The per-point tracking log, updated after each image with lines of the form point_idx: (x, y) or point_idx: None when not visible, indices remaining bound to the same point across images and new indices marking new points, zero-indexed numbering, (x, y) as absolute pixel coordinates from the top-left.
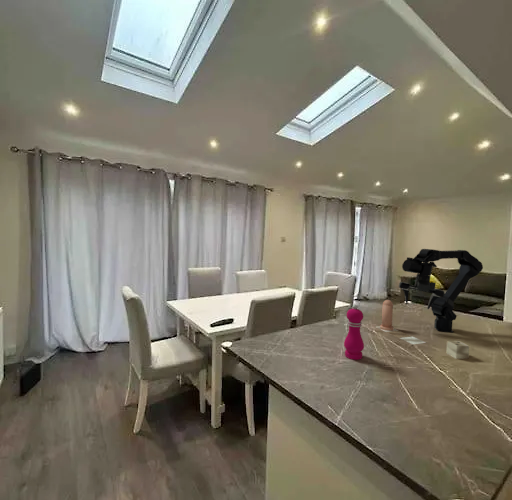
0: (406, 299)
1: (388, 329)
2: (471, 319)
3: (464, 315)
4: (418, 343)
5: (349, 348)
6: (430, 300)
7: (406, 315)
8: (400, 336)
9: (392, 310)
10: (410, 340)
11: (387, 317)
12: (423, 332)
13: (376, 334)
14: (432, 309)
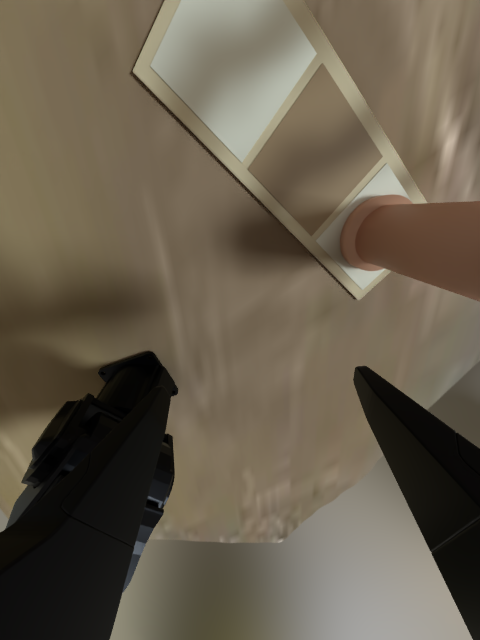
0: (412, 405)
1: (373, 198)
2: None
3: None
4: None
5: None
6: (106, 494)
7: (281, 455)
8: (309, 107)
9: (459, 244)
10: (247, 40)
11: (444, 203)
12: (204, 297)
13: (450, 69)
14: (164, 453)
